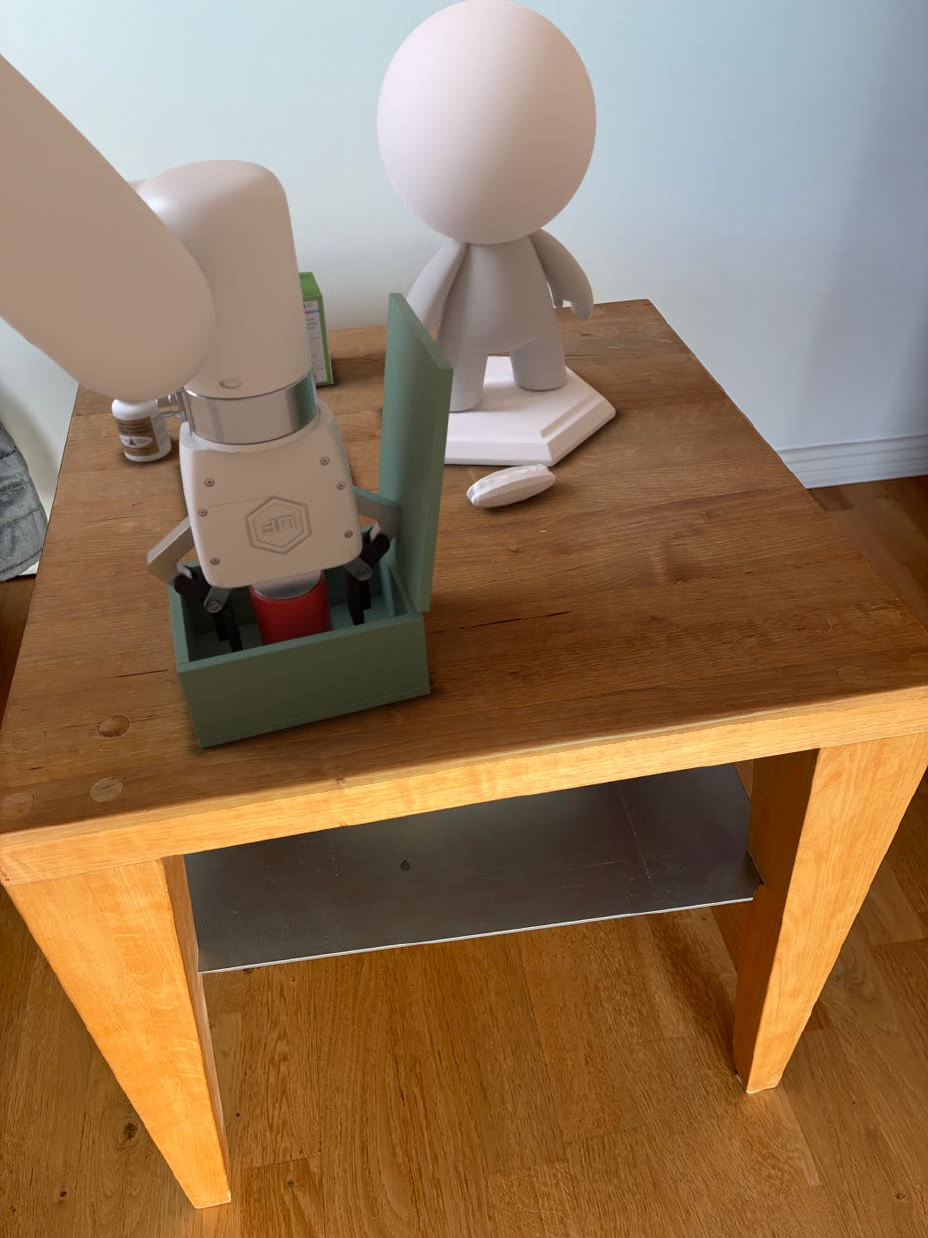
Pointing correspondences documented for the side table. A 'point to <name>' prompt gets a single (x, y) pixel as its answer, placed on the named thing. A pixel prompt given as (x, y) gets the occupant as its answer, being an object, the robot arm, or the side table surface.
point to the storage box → (299, 660)
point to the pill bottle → (141, 430)
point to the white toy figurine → (496, 220)
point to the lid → (414, 442)
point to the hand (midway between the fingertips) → (296, 629)
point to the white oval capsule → (510, 485)
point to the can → (291, 607)
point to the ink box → (316, 329)
